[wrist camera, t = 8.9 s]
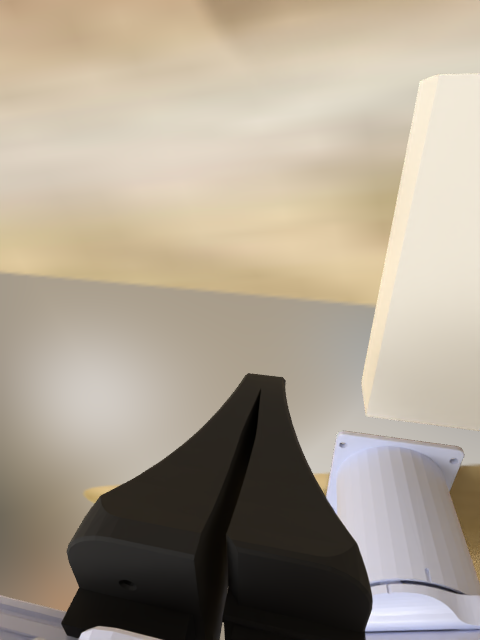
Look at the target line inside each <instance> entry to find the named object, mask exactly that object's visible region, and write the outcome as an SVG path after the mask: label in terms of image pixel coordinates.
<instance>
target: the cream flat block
mask: <svg viewBox="0 0 480 640" xmlns="http://www.w3.org/2000/svg"><path fill="white" fill-rule="evenodd" d="M361 384H362V391H363V398H364V405H365V413H366V416H368V417H376V418H383V419H391V420H399V421H407V422H415V423H422V424H430V425H437V426H446V427H453V428H461V429H469V430H477V431H480V73H470V74H438V75H435V76H433V77H430V78H427V79H424V80H421V81H420V84H419V89H418V94H417V99H416V104H415V109H414V115H413V120H412V125H411V130H410V135H409V140H408V145H407V151H406V156H405V161H404V166H403V171H402V176H401V181H400V187H399V192H398V197H397V202H396V207H395V212H394V217H393V222H392V228H391V233H390V238H389V243H388V248H387V253H386V258H385V264H384V269H383V274H382V279H381V284H380V289H379V294H378V299H377V305H376V310H375V316H374V320H373V325H372V330H371V335H370V341H369V346H368V351H367V356H366V361H365V367H364V371H363V377H362V382H361Z"/></svg>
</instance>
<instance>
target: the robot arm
mask: <svg viewBox="0 0 480 640" xmlns="http://www.w3.org/2000/svg"><path fill="white" fill-rule="evenodd" d="M343 442H344V443H345V444H342V443H343ZM452 458H455V459H452ZM463 458H464V452H463V450H462V448H460V447H457V446H451V445H444V444H437V443H430V442H422V441H415V440H408V439H400V438H393V437H385V436H379V435H371V434H364V433H357V432H349V431H340V432H338V433H337V435H336V441H335V447H334V452H333V458H332V465H331V470H330V476H329V482H328V488H327V494H326V497H325V495H324V493H323V491H322V489H321V488H320V486H319V484H318V482H317V481H316V479H315V477H314V475H313V473H312V471H311V469H310V467H309V465H308V463H307V461H306V459H305V456H304V454H303V452H302V449H301V447H300V444H299V442H298V439H297V436H296V433H295V430H294V427H293V424H292V420H291V417H290V413H289V409H288V405H287V399H286V392H285V379H284V378H283V377H275V376H267V375H258V374H250V373H248V374H247V375H245V377H244V378H243V380H242V381H241V383H240V384H239V386H238V387H237V388H236V390H235V391H234V392H233V394H232V395H231V396H230V397H229V399H228V400H227V401H226V402H225V403H224V405H223V406H222V407H221V408H220V409H219V411H217V413H216V414H215V415H214V416H213V417H212V418H211V419H210V420H209V421H208V422H207V423H206V424H205V425H204V426H203V427H202V428H201V429H200V430H199V431H198V432H197V433H196V434H194V435H193V436H192V437H191V438H190V439H189V440H188V441H187V442H185V443H184V444H183V445H182V446H180V447H179V448H178V449H176V450H175V451H174V452H173V453H171V454H170V455H169V456H167V457H166V458H164V459H163V460H162V461H160V462H159V463H157V464H156V465H154V466H153V467H151V468H149V469H148V470H146V471H145V472H143V473H142V474H140V475H139V476H137V477H135V478H134V479H132V480H130V481H128V482H126V483H124V484H122V485H120V486H119V487H117V488H115V489H113V490H111V491H109V492H107V493H105V494H103V495H101V496H100V497H99V498H98V500H97V501H96V503H95V504H94V506H93V507H92V508H91V509H90V511H89V512H88V514H87V515H86V516H85V518H84V520H83V521H82V523H81V525H80V526H79V528H78V530H77V532H76V533H75V535H74V537H73V538H72V540H71V542H70V543H69V545H68V549H67V555H68V560H69V563H70V566H71V568H72V570H73V573H74V575H75V578H76V580H77V583H78V585H79V589H78V591H77V593H76V595H75V597H74V599H73V601H72V603H71V605H70V607H69V608H68V610H67V612H65V611H61V610H57V609H53V608H49V607H45V606H41V605H37V604H33V603H29V602H25V601H21V600H17V599H13V598H9V597H5V596H1V595H0V640H220V633H221V627H222V622H224V629H225V630H224V631H225V640H480V583H479V580H478V577H477V574H476V571H475V568H474V565H473V562H472V559H471V556H470V553H469V550H468V547H467V544H466V541H465V538H464V535H463V532H462V529H461V526H460V523H459V520H458V517H457V514H456V511H455V508H454V505H453V502H452V499H451V496H450V493H449V492H450V489H451V487H452V484H453V482H454V480H455V477H456V475H457V472H458V470H459V468H460V465H461V463H462V460H463ZM227 590H228V591H227Z"/></svg>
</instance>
